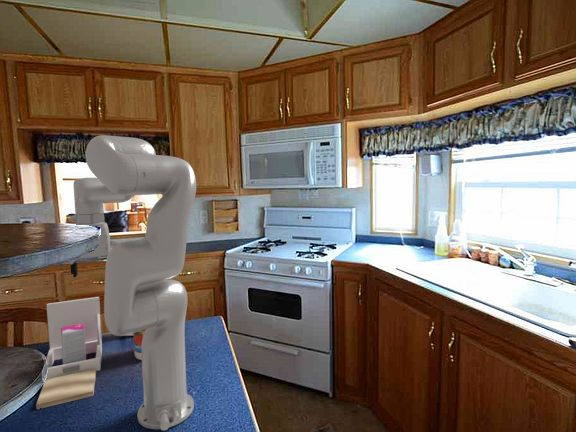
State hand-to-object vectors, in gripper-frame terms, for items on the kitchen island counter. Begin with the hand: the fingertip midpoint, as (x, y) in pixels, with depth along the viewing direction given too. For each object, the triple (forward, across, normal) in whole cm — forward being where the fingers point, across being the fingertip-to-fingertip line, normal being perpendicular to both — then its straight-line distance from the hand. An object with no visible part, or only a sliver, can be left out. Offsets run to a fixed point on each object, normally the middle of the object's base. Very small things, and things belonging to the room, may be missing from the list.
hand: (93, 274), depth 107 cm
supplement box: (+26, -6, -4) cm, 27 cm away
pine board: (+26, -6, -18) cm, 32 cm away
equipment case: (+26, -6, -4) cm, 27 cm away
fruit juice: (+26, +15, -6) cm, 31 cm away
